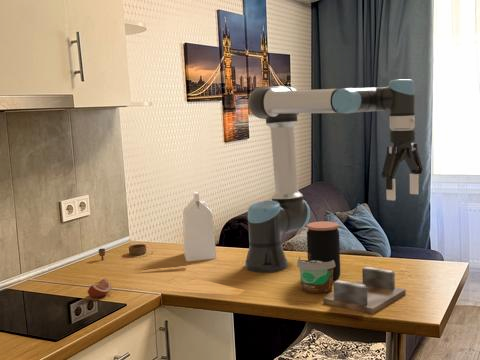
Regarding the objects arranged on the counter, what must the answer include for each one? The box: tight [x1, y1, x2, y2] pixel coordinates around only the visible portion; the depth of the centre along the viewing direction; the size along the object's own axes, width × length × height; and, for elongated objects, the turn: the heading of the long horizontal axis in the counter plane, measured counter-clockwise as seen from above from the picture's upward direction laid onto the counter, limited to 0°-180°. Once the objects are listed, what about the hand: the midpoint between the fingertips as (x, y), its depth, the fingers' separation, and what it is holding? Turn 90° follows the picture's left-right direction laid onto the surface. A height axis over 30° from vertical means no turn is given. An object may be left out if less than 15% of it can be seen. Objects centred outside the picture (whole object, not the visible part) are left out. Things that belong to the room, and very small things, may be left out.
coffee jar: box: [306, 220, 341, 281], centre depth 195 cm, size 11×11×18 cm
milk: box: [182, 191, 217, 262], centre depth 228 cm, size 12×12×26 cm
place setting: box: [98, 243, 154, 261], centre depth 237 cm, size 18×20×6 cm
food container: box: [296, 256, 336, 295], centre depth 181 cm, size 12×6×10 cm, turn 62°
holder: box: [322, 266, 407, 315], centre depth 172 cm, size 16×20×7 cm
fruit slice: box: [87, 278, 112, 298], centre depth 187 cm, size 8×7×5 cm
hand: (402, 197), depth 185 cm, fingers open, 13 cm apart
